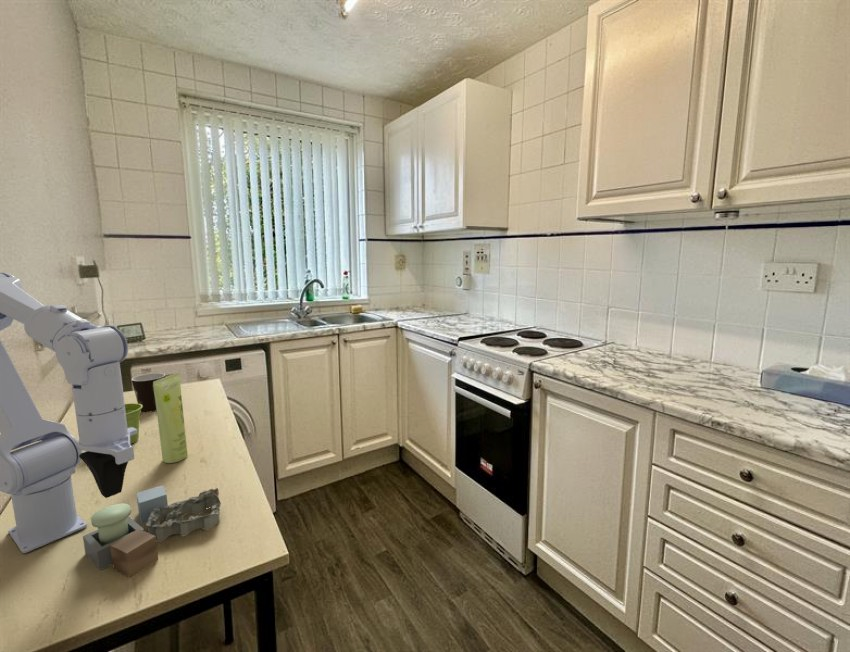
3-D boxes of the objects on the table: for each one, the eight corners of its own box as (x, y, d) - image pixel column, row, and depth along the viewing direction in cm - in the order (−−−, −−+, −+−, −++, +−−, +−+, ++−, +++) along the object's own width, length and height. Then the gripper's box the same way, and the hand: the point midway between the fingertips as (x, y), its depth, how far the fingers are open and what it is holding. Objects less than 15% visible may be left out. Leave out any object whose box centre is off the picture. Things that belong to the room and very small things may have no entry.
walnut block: (113, 570, 59) (110, 545, 59) (141, 552, 63) (139, 528, 62) (130, 578, 58) (126, 553, 57) (158, 560, 61) (155, 536, 61)
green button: (89, 541, 62) (86, 515, 62) (126, 524, 66) (123, 500, 66) (101, 553, 60) (97, 526, 59) (138, 535, 64) (135, 510, 63)
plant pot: (90, 448, 99) (85, 414, 97) (128, 432, 108) (124, 401, 106) (118, 453, 96) (113, 418, 95) (155, 437, 105) (151, 404, 103)
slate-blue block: (138, 513, 73) (136, 493, 72) (165, 505, 75) (162, 485, 75) (141, 524, 70) (139, 503, 69) (168, 515, 72) (166, 494, 72)
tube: (188, 460, 92) (180, 377, 89) (162, 467, 89) (152, 381, 86) (187, 451, 97) (179, 371, 94) (161, 457, 94) (152, 375, 91)
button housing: (85, 553, 63) (82, 536, 62) (130, 532, 67) (128, 516, 67) (100, 570, 59) (97, 551, 59) (146, 546, 64) (144, 529, 64)
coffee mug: (141, 405, 128) (137, 374, 127) (172, 402, 131) (168, 372, 130) (126, 418, 118) (122, 385, 116) (160, 414, 120) (157, 382, 119)
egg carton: (223, 506, 75) (221, 486, 75) (219, 531, 68) (217, 508, 68) (155, 519, 71) (153, 498, 71) (144, 547, 64) (141, 523, 64)
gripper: (153, 410, 59) (162, 496, 61) (113, 393, 67) (122, 469, 69) (94, 426, 54) (106, 520, 56) (57, 405, 62) (70, 488, 64)
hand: (111, 493), depth 62 cm, fingers closed
